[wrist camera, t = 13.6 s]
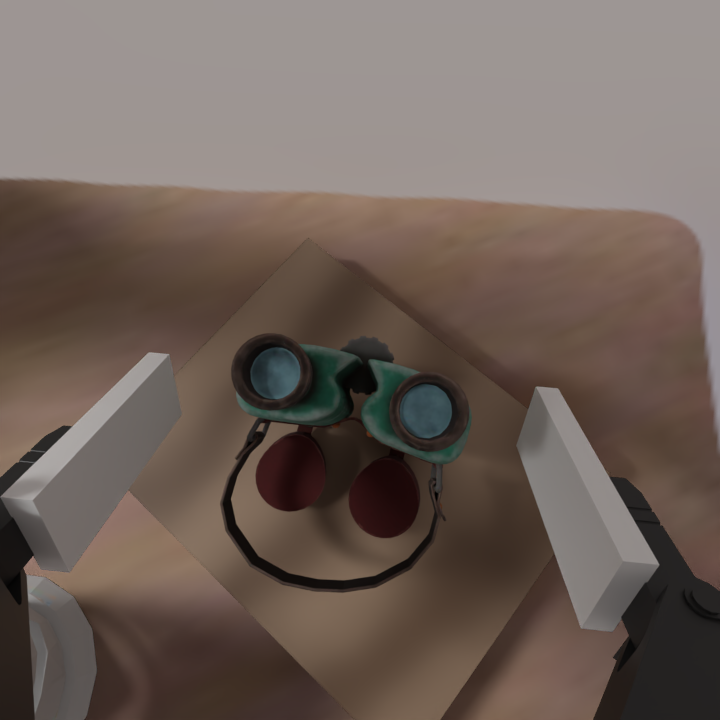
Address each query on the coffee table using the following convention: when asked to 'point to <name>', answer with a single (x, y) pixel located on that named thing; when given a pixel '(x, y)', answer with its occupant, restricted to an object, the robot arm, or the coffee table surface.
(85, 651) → the white plunger jar
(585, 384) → the coffee table surface
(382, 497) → the binoculars
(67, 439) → the robot arm
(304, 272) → the walnut stand
